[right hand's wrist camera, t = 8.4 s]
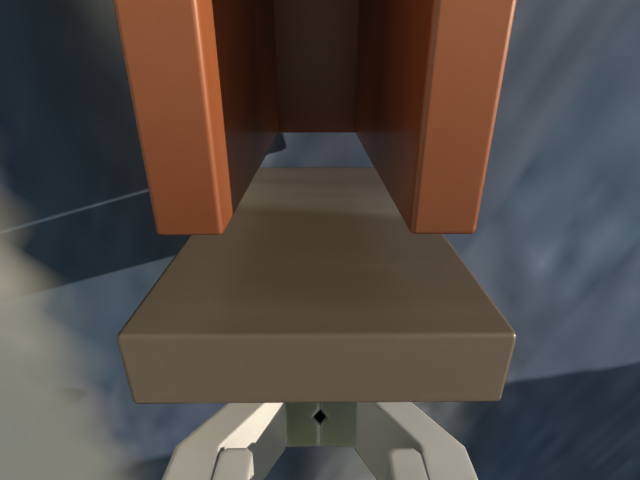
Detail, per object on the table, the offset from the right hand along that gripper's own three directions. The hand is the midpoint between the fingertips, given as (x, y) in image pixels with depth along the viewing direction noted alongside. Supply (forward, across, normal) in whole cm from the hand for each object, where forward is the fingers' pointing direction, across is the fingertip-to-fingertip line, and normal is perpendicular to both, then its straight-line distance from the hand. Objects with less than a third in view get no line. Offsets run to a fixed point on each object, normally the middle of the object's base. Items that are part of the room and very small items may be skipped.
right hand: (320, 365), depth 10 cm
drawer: (+4, 0, -8) cm, 9 cm away
